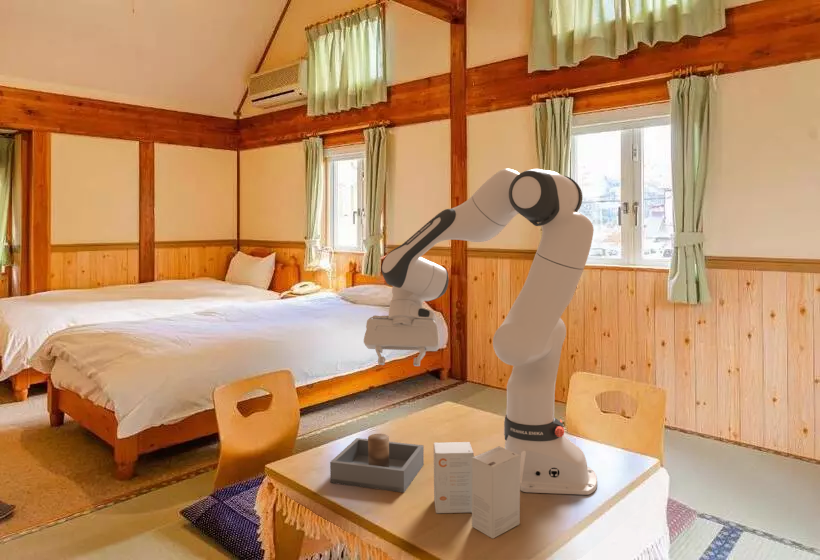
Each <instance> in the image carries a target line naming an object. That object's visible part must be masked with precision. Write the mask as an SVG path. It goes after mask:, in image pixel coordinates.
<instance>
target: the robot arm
mask: <svg viewBox="0 0 820 560" xmlns="http://www.w3.org/2000/svg"><path fill="white" fill-rule="evenodd" d="M582 204H583V192H582V189H581V187H580V185H579V184H578V183H577V182H576V180H574V179H573V178H571V177H569V176H568V175H567V176H566V175H563V174H561V173H558V172H557V171H554V170H553V171H552V170H549V169H547V170H546V169H540V168H533V169H526V170H524V171H522V172H521V173H520V172H518V171H517V170H514V169H511V168H502V169H500V170H498V171H497V172H496V173H494V174H493V175H492V176H490V177H489V178H488V179H487V180H486V181H485V182H484V183H483V184H482V185H481V186H480V187H479V188H477V190H476V191H475V192H474V193H473V195H471V196H470V197H469V198H468V199H467V200H466V201H464V202H463V203H461V204H459V205H457V206H454V207H452V208H445V209H443V210H442V211H440V212H438V213H437V214H436V215H435V216H434V217H433V218H431V219H430V220H428V221H427V223H425V224H424V225H423V226H422V227H421V228H420V229H418V231H416V232H415V233H414V234H412V235H411V236H410V237H409V238H408V239H406V241H404V243H402V244H400V245H399V246H397V247H395V248H394V249H392V250H390V252H388V253H387V255H385V257H384V259H383V261H382V264H381V274H382V277H383V279H384V281H385V283H386V284H387V285H389V286H392V289H391V292H392V296H391V297H392V298H391V300H390V303H389V310H388V315H373V316H371V317H369V318H368V319H367V320H366V325H365V328H366V329H365V332H364V336H363V344H364V346H365V347H366V348H367V349H369V350H375V352H376V355H377V357H378V360H377V363H378V365H382V366H385V365H386V364H385V362H386V358H385V356H382V354H383V351H384V350H387V351H388V350H389V351H391V350H392V351H418V352H419V354H418V356H417V357H413V362H412V363H413V364H412V365H413V366H414V367H421V361H422V360H423V359H424V357H425V356H426V352H437V351H438V350H439V349H440V348H441V347H440V346H441V334H440V329H439V327H438V325H439V324H438V323H439V322H438V317H437V315H436V313H435V312H434V311H433V310H431V309H428V308H425V307H423V303H424V302H431V301H434V300H436V299H439V298H441V297H442V296H443V295H445V294H446V292H447V290H448V286H449V280H450V279H449V278H450V277H449V273H448V271H447V269H446V268H445V267H443V266H442V265H441V264H437V263H435V262H433V261H432V260H428V259H427V258H424V257H422V256H424V255H425V254H426V253H427V252H428V251H429V250H431V249H433V248H434V246H436V245H437V244H438V243H440V242H443V241H448V240H450V241H451V240H454V241H455V240H457V241H467V242H471V243H483V242H484V243H485V242H488V241H490V240H492V239H494V238H495V237H496V236H498V235H499V234H500V233H501V232H502V231H503V230H504V229H505V228H506V227H507V225H509V223H510V222H511V221H512V220H513V219H514V218H515V217H516V216H517V215H518V214H520V215H521V216H522V217H524V218H525V219H526V220H527V221H529V222H530V223H531V224H532V225H533V226H535V227H541V239H540V242H539V244H538V247H537V250H536V252H535V255H534V257H533V261H532V263H531V265H530V267H529V268H530V269H529V271H528V273H527V277H526V279H525V282H524V284H523V286H522V288H521V290H520V291H519V294H518V295H517V297H516V299H515V300H514V302H513V304H512V306H511V307H510V309H509V311H508V313H507V315H506V317H505V318H504V320H503V321H502V323H501V324H500V326H499V327H498V328H497V329H496V330H495V332H494V335H493V337H492V347H493V348H492V349H493V351H494V353H495V355H496V357H497V358H498V359H499V360H500V361H501V362H503V363H504V364H506V365H507V366H508V365H509V366H512V370H511V374H510V376H509V378H508V380H507V384H506V414H505V417H504V421H503V423H504V424H503V436H504V440H505V442H504V443H505V444H504V449H507V450H509V451H512V452H514V453H516V454H519V455H520V492H523V493H536V494H537V493H538V494H540V493H541V494H561V495H583V496H584V495H591V494H592V493H594V492H595V491H596V489H597V488H598V477H597V474H596V472H595V471H594V470H593V468H591V467H589V466H588V462H587V459H586V456H585V453H584V451H583V450H582V449H581V448H580V447H579V445H577V444H575V443H574V442H573V441H571V440H570V439H569V438H567V436H565V428H564V424H563V420H562V419H561V418H560V419H558V418H556V417H555V399H556V397H555V393H556V382H557V375H558V372H559V365H560V362H561V361H560V360H561V355H562V349H563V345H564V342H565V339H566V338H567V326H566V324H565V322H564V320H563V319H562V316H563V313H564V312H565V311H566V309H567V307H568V306H569V305H570V304H571V301H572V300H573V297H574V296H575V293H576V291H577V287H578V286H579V285H578V284H579V282H580V279H581V278H582V274H583V271H584V269H585V266H586V264H587V261H588V259H589V255H590V251H591V247H592V242H593V236H594V225H593V223H592V221H591V220H590V219H589V218H588V217H587V216H586V215H584V214H582V213H580V212H579V211H580V208H581V206H582Z"/></svg>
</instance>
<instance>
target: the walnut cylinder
mask: <svg viewBox="0 0 820 560" xmlns="http://www.w3.org/2000/svg"><path fill="white" fill-rule="evenodd" d="M367 439H368V465H374V466H382V467H389V442H390V437H389V435H388V434H386V433H373V434H369V435H368V437H367Z"/></svg>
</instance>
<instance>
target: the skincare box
mask: <svg viewBox="0 0 820 560" xmlns="http://www.w3.org/2000/svg"><path fill="white" fill-rule="evenodd" d="M520 509H521V490H520V455H519V454H516V453H514V452H512V451H509V450H507V449H505V447H502V446H496V447H494V448H492V449H489V450H487V451H485V452H482V453H480V454H477V455H474V457H472V513H471V526H472V528H474V529H476V530H478V532H481V533H482V534H484V535H485V536H487V537H489V538H491V539H495V538H497V537H498V536H500V535H502V534H504V533H506V532H507V531H509V530H511V529H513V528H515V527H516V526H519V525H520V524H521V521H520V520H521V519H520V518H521V517H520V516H521V515H520V513H521V510H520Z"/></svg>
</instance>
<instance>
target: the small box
mask: <svg viewBox="0 0 820 560" xmlns="http://www.w3.org/2000/svg"><path fill="white" fill-rule="evenodd" d="M474 456H475V453H474V450H473V448H472V445H471V441H460V442H459V441H455V442H454V441H453V442H452V441H451V442H450V441H448V442H446V441H445V442H433V500H434V509H435V514H453V513H454V514H458V513H462V514H463V513H466V514H467V513H471V514H472V457H474Z"/></svg>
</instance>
